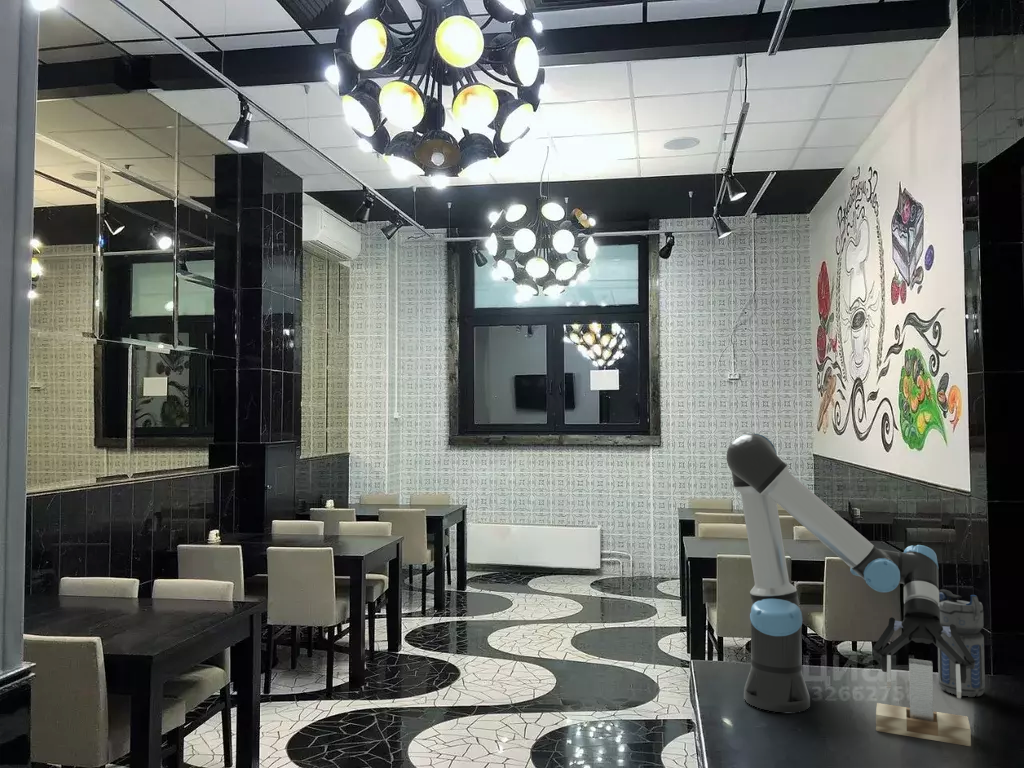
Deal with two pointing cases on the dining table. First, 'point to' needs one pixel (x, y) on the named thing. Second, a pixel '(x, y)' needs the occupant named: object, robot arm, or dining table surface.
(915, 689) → the white square post
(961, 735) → the foot beam
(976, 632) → the beverage bottle
